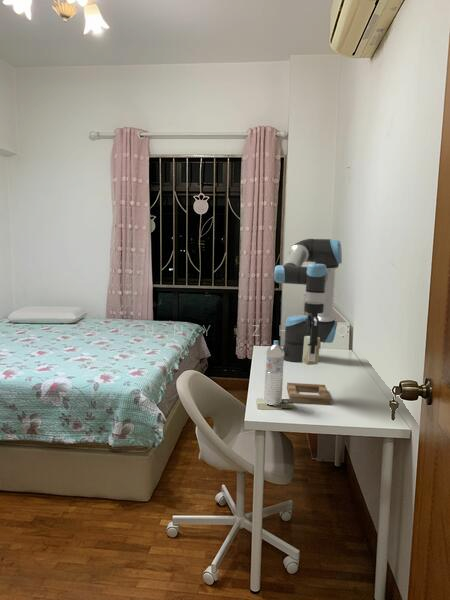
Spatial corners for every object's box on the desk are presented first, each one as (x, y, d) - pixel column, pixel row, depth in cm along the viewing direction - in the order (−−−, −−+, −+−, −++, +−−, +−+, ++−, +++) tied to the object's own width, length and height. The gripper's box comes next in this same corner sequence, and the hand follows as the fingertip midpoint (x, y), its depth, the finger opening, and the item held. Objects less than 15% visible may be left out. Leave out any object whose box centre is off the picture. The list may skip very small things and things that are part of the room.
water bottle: (263, 399, 171) (266, 338, 168) (280, 400, 171) (284, 339, 168) (264, 406, 165) (267, 342, 161) (282, 407, 164) (286, 343, 161)
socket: (286, 388, 185) (287, 382, 185) (324, 390, 184) (324, 384, 184) (290, 402, 169) (290, 396, 169) (331, 404, 169) (331, 398, 168)
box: (307, 365, 172) (309, 338, 170) (301, 362, 176) (303, 335, 174) (318, 364, 174) (320, 337, 172) (312, 361, 178) (314, 335, 176)
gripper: (302, 298, 181) (298, 352, 184) (307, 305, 162) (303, 365, 165) (320, 299, 180) (316, 353, 184) (328, 306, 162) (323, 366, 165)
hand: (310, 358), depth 174 cm, fingers closed on box, 6 cm apart
